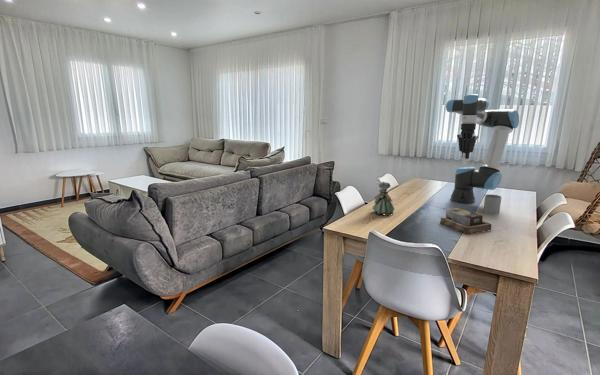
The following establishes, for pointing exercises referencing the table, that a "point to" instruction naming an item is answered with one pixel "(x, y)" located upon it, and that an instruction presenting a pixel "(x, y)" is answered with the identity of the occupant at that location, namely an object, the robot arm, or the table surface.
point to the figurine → (383, 200)
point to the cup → (492, 204)
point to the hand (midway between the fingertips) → (464, 164)
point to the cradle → (465, 229)
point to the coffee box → (464, 217)
